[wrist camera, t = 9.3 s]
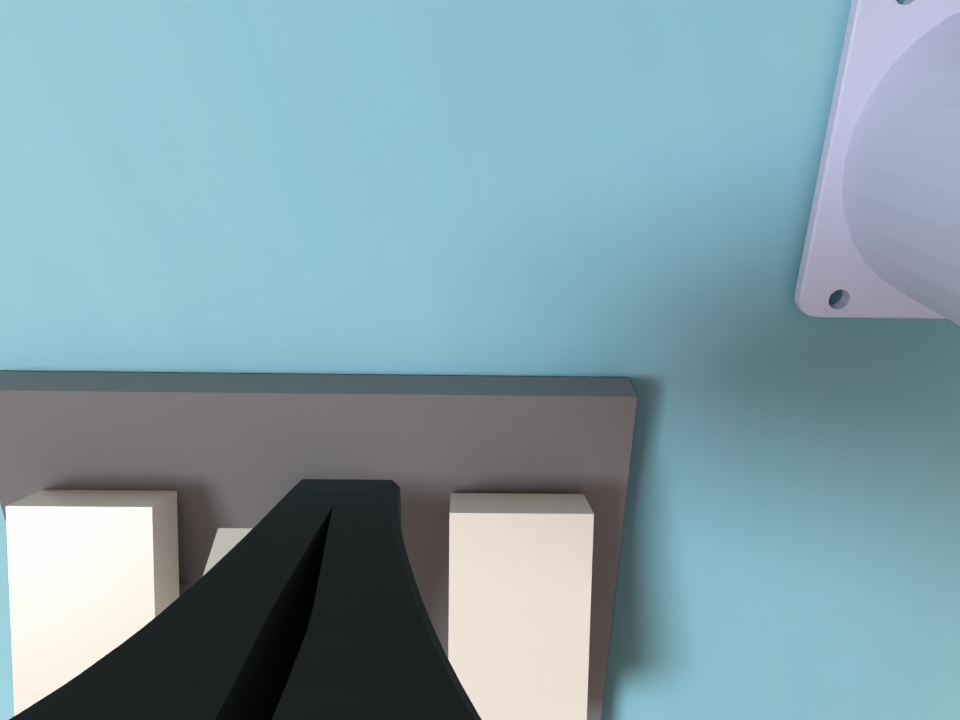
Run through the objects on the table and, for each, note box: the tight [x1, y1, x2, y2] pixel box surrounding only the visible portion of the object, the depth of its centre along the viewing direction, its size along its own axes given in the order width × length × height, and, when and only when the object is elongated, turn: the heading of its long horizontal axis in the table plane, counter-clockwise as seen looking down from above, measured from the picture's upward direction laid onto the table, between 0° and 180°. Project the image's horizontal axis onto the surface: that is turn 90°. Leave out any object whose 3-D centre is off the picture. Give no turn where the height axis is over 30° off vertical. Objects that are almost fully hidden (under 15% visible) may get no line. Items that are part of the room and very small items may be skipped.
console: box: [0, 371, 638, 720], centre depth 22 cm, size 17×13×2 cm
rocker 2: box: [448, 493, 594, 720], centre depth 20 cm, size 4×8×2 cm, turn 179°
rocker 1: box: [6, 490, 179, 716], centre depth 20 cm, size 4×8×2 cm, turn 179°
